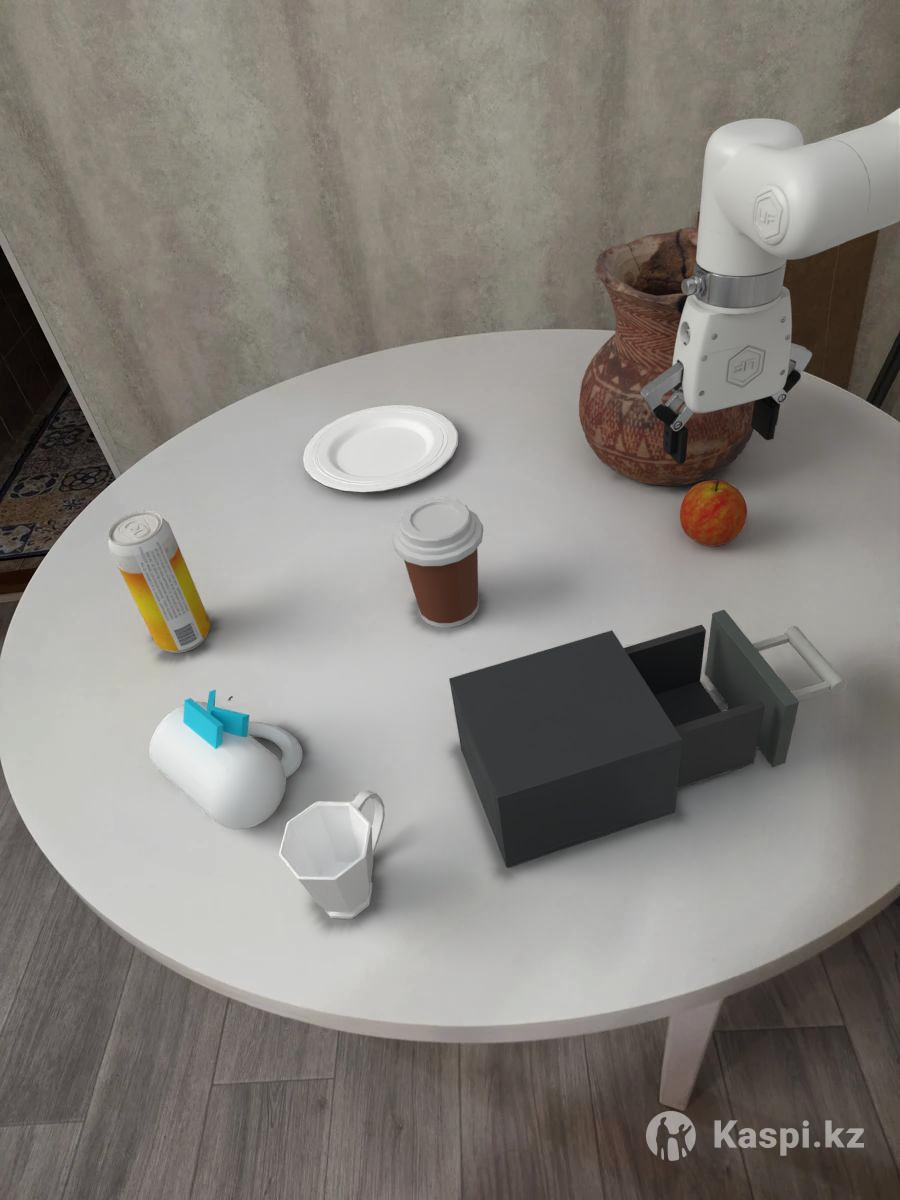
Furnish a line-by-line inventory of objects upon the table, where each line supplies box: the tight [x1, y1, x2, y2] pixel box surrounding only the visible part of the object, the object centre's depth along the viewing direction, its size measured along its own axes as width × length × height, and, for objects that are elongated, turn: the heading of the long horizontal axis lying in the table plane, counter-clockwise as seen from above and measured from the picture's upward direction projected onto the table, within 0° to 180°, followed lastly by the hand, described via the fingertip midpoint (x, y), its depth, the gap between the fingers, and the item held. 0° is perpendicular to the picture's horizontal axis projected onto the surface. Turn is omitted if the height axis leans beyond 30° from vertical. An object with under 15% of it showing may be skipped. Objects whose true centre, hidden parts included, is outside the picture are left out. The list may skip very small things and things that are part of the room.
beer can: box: [107, 510, 211, 654], centre depth 89 cm, size 6×6×15 cm
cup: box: [278, 790, 386, 920], centre depth 67 cm, size 7×10×8 cm
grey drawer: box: [623, 609, 847, 789], centre depth 73 cm, size 20×11×8 cm, turn 106°
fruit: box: [679, 479, 748, 547], centre depth 93 cm, size 7×7×8 cm
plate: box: [302, 404, 459, 494], centre depth 115 cm, size 21×21×2 cm
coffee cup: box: [391, 496, 484, 629], centre depth 88 cm, size 9×9×12 cm
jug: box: [578, 226, 755, 487], centre depth 100 cm, size 22×21×25 cm
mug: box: [148, 689, 304, 830], centre depth 76 cm, size 12×9×12 cm
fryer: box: [448, 629, 682, 868], centre depth 71 cm, size 15×13×10 cm
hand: (718, 445), depth 88 cm, fingers open, 9 cm apart
